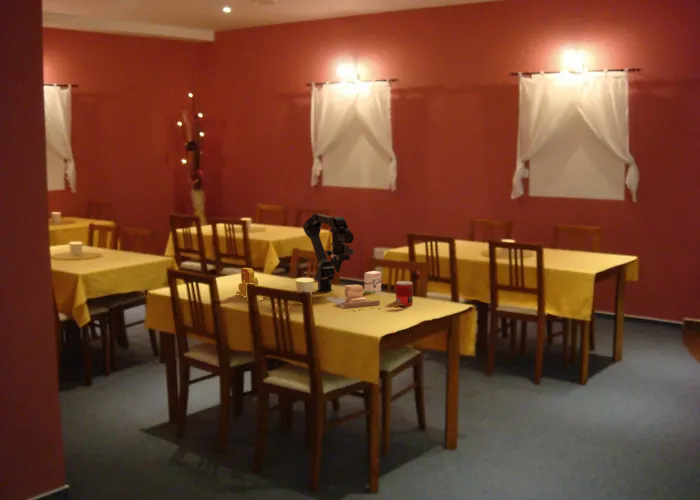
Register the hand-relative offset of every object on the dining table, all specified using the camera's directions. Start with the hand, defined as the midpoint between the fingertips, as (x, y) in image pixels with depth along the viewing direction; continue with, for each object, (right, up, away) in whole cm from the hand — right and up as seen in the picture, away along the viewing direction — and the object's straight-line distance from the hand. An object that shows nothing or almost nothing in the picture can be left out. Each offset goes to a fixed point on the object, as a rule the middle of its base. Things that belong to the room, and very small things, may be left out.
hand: (337, 271), depth 384 cm
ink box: (+18, -12, +2) cm, 22 cm away
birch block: (+9, -14, -25) cm, 30 cm away
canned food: (+32, -15, -22) cm, 42 cm away
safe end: (+10, -16, -28) cm, 34 cm away
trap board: (+5, -15, -17) cm, 23 cm away
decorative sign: (-44, -13, -4) cm, 46 cm away
